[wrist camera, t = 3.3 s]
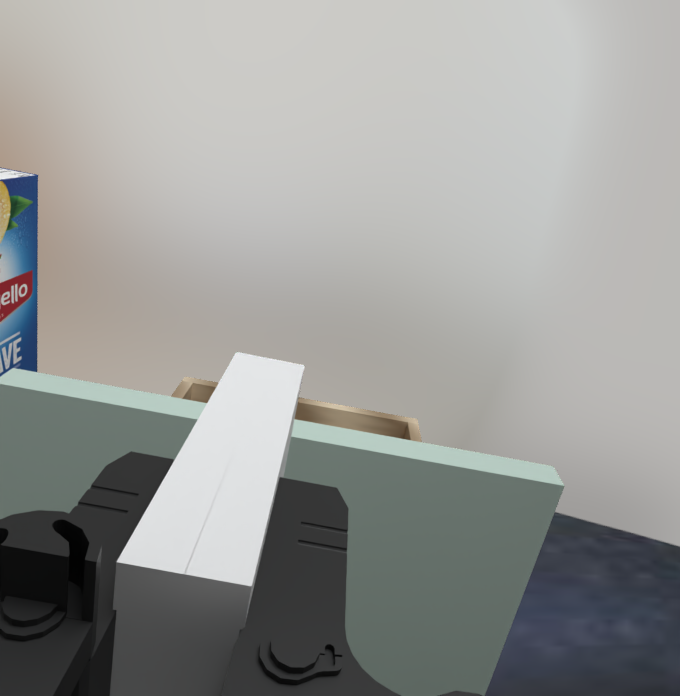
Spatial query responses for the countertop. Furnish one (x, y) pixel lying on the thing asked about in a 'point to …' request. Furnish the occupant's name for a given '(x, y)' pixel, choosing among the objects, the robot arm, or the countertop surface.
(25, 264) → the blue food box
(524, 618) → the countertop surface
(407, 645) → the grey-green angled piece
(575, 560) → the countertop surface
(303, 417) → the wooden box
